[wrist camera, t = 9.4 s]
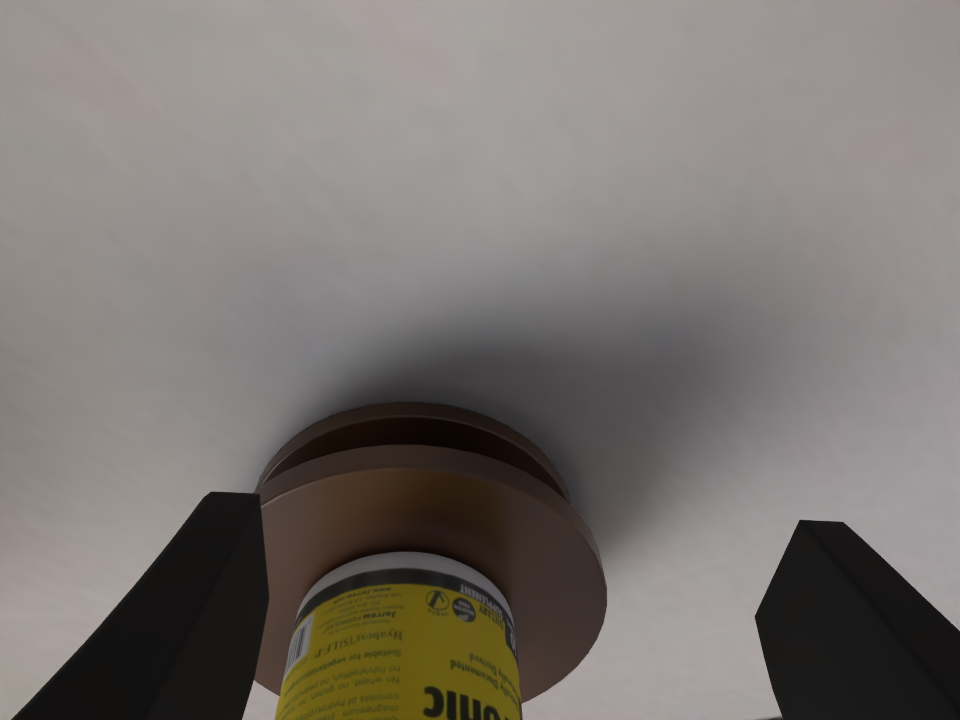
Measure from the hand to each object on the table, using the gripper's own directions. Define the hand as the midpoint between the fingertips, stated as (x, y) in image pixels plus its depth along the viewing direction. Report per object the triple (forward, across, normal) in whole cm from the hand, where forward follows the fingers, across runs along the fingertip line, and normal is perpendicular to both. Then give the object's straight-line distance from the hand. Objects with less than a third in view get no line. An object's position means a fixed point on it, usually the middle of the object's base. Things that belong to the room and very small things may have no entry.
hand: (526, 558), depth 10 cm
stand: (+8, +2, +8) cm, 12 cm away
